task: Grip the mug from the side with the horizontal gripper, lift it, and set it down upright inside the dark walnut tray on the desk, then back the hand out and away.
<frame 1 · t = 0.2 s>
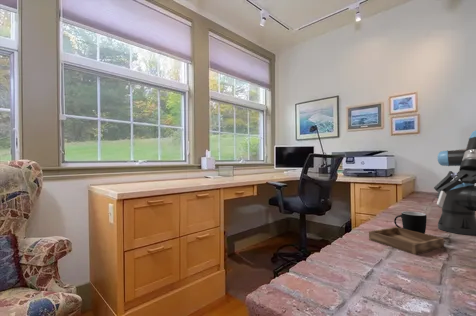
hand: (460, 208, 89), 15 cm above the countertop, tool tilted 35°, fingers open, 13 cm apart
mug: (410, 235, 105), on the countertop
walnut tray: (404, 243, 94), on the countertop
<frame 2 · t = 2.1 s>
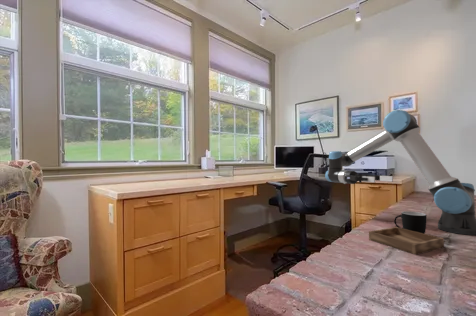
hand: (383, 179, 116), 25 cm above the countertop, tool horizontal, fingers open, 13 cm apart
nothing on the countertop moved.
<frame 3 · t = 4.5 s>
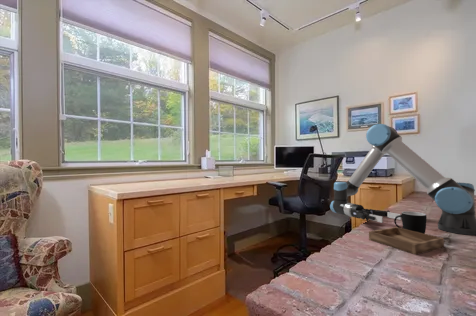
hand: (391, 218, 112), 6 cm above the countertop, tool horizontal, fingers open, 13 cm apart
nothing on the countertop moved.
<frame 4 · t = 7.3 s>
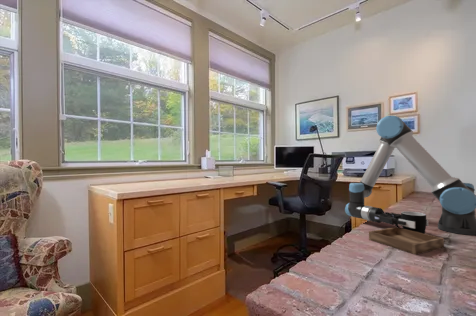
hand: (421, 224, 101), 6 cm above the countertop, tool horizontal, fingers closed on mug, 9 cm apart
mug: (409, 235, 105), on the countertop, touching gripper
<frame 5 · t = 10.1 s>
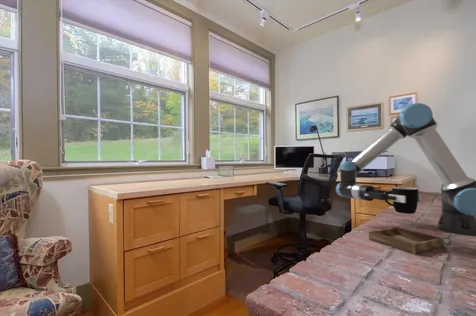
hand: (412, 198, 94), 18 cm above the countertop, tool horizontal, fingers closed on mug, 9 cm apart
mug: (400, 212, 97), point 12 cm above the countertop, touching gripper
when the fingers open (9 cm above the countertop, at t = 12.9 s): mug drops 2 cm, resting on walnut tray.
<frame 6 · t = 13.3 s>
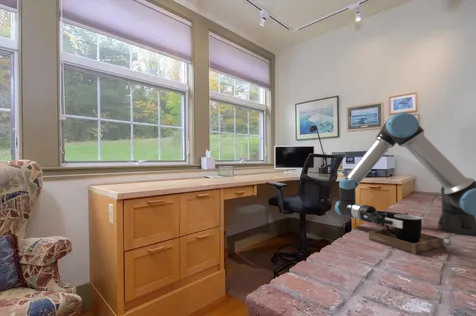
hand: (413, 223, 91), 9 cm above the countertop, tool horizontal, fingers open, 13 cm apart
mug: (403, 241, 94), point 1 cm above the countertop, touching walnut tray
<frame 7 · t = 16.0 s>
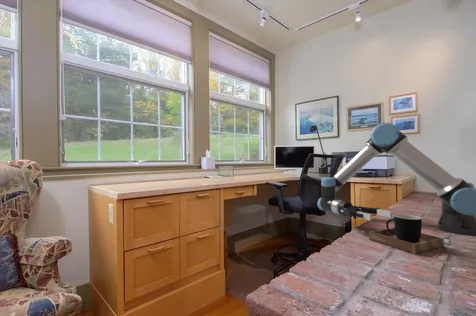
hand: (381, 215, 103), 9 cm above the countertop, tool horizontal, fingers open, 13 cm apart
nothing on the countertop moved.
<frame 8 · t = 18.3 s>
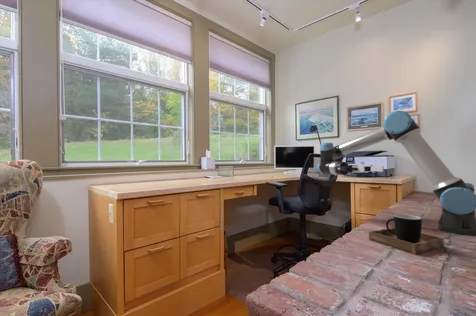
hand: (374, 168, 114), 30 cm above the countertop, tool horizontal, fingers open, 13 cm apart
nothing on the countertop moved.
at the end: mug inside the target area on the walnut tray (0.7 cm from its centre), point 0.8 cm above the walnut tray's base; mug tilted 0°; the gripper is holding nothing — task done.
